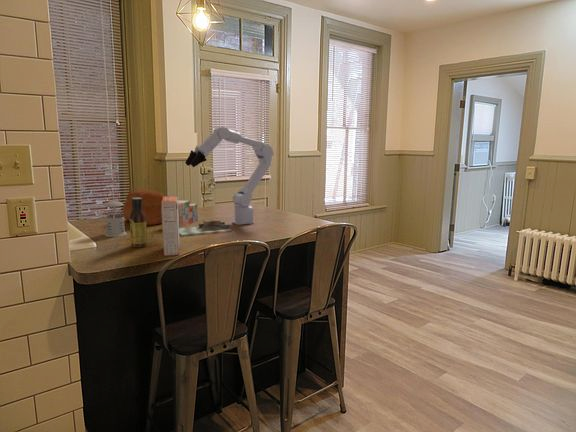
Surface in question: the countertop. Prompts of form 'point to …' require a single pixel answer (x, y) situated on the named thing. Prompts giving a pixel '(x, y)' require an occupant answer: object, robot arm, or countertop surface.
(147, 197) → the bread
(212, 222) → the walnut block
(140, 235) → the sauce bottle
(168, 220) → the cracker box
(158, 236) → the countertop surface
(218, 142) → the robot arm
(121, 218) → the french press
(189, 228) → the chute board
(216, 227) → the channel rails
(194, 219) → the stack of blocks
